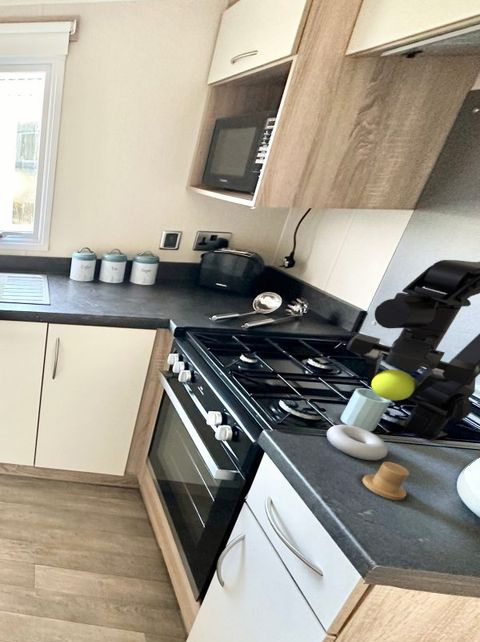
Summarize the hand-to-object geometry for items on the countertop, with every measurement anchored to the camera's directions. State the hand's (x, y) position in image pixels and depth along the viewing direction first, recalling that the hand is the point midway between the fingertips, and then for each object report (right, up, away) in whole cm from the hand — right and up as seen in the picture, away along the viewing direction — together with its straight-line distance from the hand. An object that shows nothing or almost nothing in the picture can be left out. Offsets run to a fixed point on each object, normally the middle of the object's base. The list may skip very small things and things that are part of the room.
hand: (388, 392), depth 88 cm
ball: (0, +2, -1) cm, 2 cm away
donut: (-7, -12, +1) cm, 14 cm away
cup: (+2, -8, +9) cm, 12 cm away
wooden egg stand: (-11, -17, -10) cm, 23 cm away
